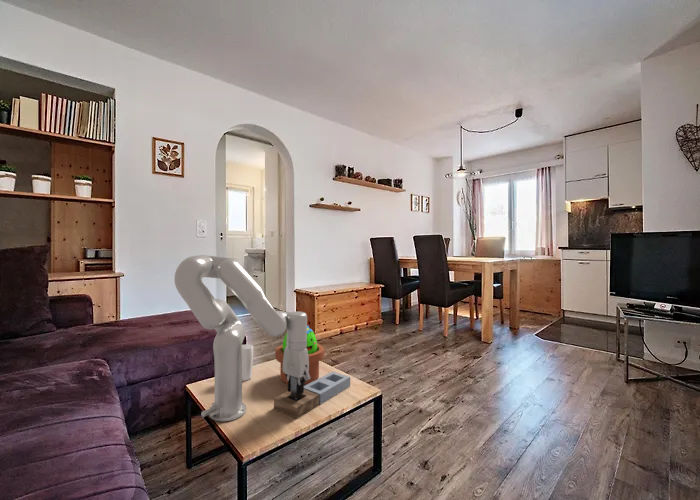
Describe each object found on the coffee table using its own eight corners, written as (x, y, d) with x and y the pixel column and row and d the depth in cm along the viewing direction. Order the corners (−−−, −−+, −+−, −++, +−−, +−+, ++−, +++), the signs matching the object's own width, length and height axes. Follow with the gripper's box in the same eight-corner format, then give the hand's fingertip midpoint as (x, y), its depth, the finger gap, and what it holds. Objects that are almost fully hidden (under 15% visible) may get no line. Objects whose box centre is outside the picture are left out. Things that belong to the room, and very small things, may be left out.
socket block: (296, 418, 114) (296, 407, 114) (273, 408, 121) (273, 398, 121) (318, 405, 124) (318, 395, 124) (296, 396, 131) (296, 386, 131)
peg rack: (320, 404, 125) (320, 394, 124) (301, 396, 130) (301, 387, 130) (350, 386, 141) (350, 377, 141) (332, 380, 147) (332, 371, 147)
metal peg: (295, 409, 119) (296, 372, 119) (287, 405, 122) (288, 369, 122) (302, 405, 123) (303, 368, 122) (295, 401, 125) (296, 366, 125)
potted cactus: (267, 376, 150) (267, 323, 149) (305, 365, 165) (306, 316, 164) (292, 393, 134) (292, 333, 133) (332, 378, 148) (333, 325, 148)
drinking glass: (234, 378, 147) (235, 346, 147) (248, 374, 152) (248, 343, 152) (242, 383, 142) (242, 349, 142) (255, 378, 147) (256, 346, 147)
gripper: (274, 342, 124) (273, 389, 124) (305, 351, 114) (304, 402, 114) (288, 338, 130) (287, 383, 130) (319, 346, 120) (318, 395, 120)
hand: (295, 391), depth 122 cm, fingers closed on metal peg, 4 cm apart
